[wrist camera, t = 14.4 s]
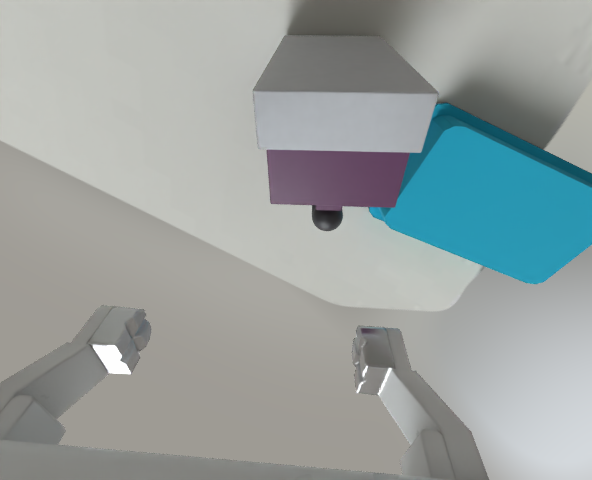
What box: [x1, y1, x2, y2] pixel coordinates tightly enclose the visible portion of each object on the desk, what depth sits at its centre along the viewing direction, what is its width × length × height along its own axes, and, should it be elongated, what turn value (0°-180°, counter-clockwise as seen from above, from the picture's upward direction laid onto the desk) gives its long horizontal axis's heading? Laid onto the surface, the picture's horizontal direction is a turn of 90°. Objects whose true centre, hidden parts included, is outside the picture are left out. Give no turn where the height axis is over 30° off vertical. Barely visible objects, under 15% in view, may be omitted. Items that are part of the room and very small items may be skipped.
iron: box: [253, 35, 439, 231], centre depth 19 cm, size 14×7×10 cm
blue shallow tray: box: [369, 103, 592, 284], centre depth 27 cm, size 12×20×3 cm, turn 68°
